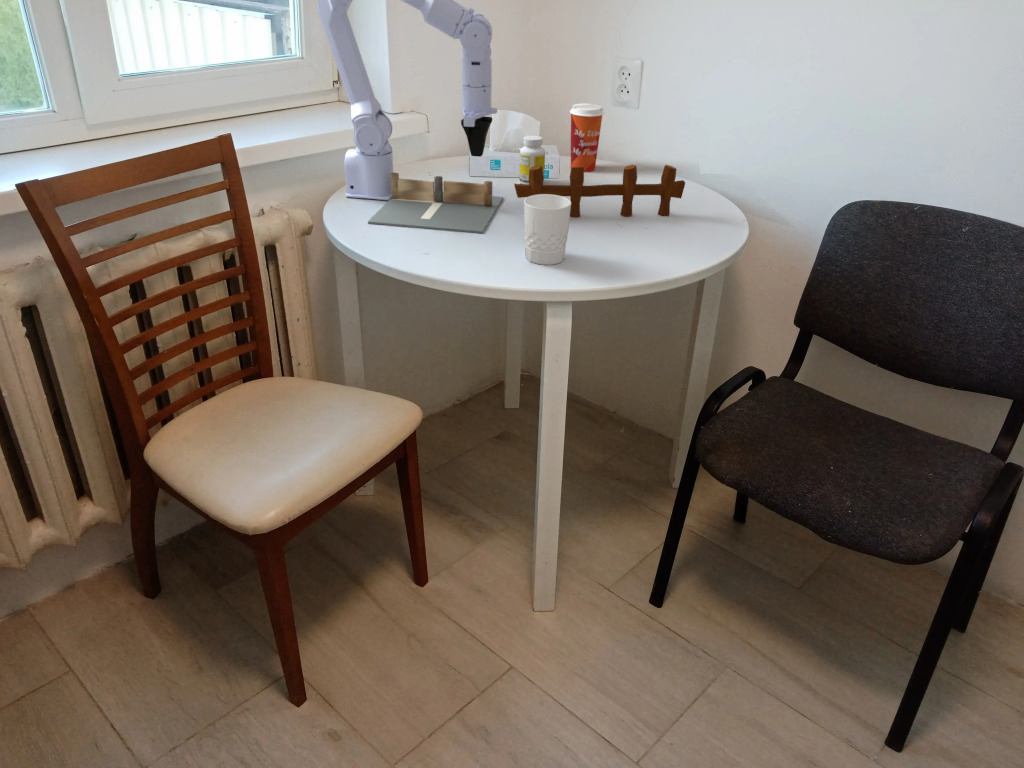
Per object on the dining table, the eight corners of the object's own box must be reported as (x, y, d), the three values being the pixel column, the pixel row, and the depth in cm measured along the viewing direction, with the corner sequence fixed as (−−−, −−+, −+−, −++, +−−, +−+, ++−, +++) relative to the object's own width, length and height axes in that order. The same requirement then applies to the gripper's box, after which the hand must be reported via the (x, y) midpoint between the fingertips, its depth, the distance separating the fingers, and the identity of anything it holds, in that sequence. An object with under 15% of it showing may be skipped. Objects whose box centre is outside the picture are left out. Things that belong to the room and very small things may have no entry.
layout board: (368, 223, 149) (367, 221, 149) (400, 190, 167) (400, 188, 167) (482, 233, 146) (482, 231, 146) (503, 198, 164) (503, 196, 164)
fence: (514, 219, 154) (515, 168, 148) (512, 214, 156) (514, 164, 151) (681, 217, 157) (688, 167, 152) (677, 212, 160) (684, 163, 155)
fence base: (390, 199, 160) (389, 174, 158) (393, 196, 162) (392, 172, 159) (441, 203, 159) (441, 178, 156) (443, 200, 160) (443, 176, 158)
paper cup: (571, 174, 180) (576, 110, 173) (562, 164, 187) (565, 103, 180) (604, 172, 182) (609, 109, 175) (593, 163, 188) (598, 102, 181)
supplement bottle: (544, 180, 176) (546, 135, 171) (542, 187, 171) (545, 141, 166) (520, 178, 176) (521, 133, 171) (518, 185, 172) (519, 140, 167)
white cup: (519, 249, 140) (521, 194, 135) (564, 249, 141) (567, 194, 135) (524, 266, 133) (526, 209, 128) (570, 266, 134) (574, 209, 129)
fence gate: (443, 202, 159) (442, 179, 156) (445, 200, 160) (444, 177, 158) (491, 206, 158) (491, 183, 155) (492, 204, 159) (493, 181, 157)
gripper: (489, 93, 146) (489, 166, 153) (503, 78, 158) (502, 147, 165) (452, 90, 147) (453, 164, 154) (469, 77, 159) (469, 145, 166)
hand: (476, 155), depth 160 cm, fingers closed
